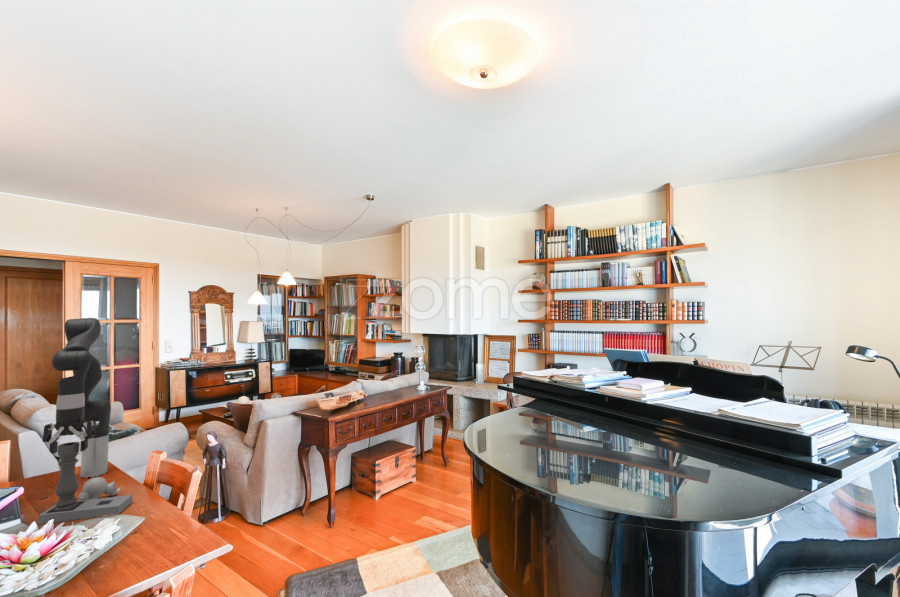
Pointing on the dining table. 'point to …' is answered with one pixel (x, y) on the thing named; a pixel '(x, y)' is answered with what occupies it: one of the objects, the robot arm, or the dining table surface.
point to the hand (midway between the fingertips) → (68, 451)
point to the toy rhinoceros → (97, 488)
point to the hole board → (88, 509)
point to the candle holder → (67, 477)
